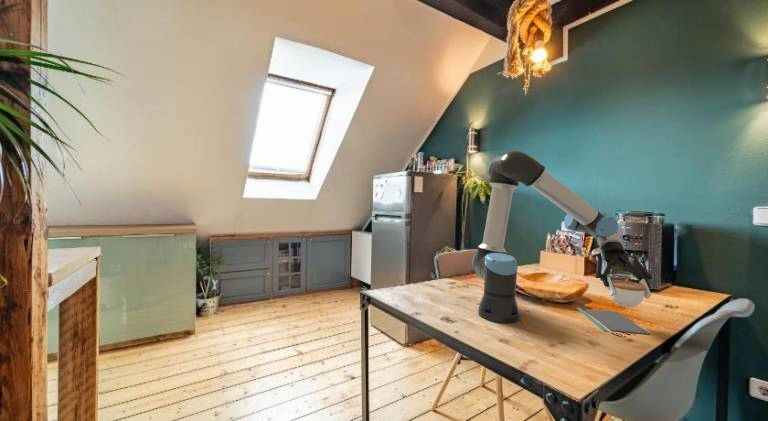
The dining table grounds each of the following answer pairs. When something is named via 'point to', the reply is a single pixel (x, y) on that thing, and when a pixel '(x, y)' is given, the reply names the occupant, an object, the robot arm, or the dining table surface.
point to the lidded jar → (628, 293)
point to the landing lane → (613, 321)
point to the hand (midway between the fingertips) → (630, 295)
